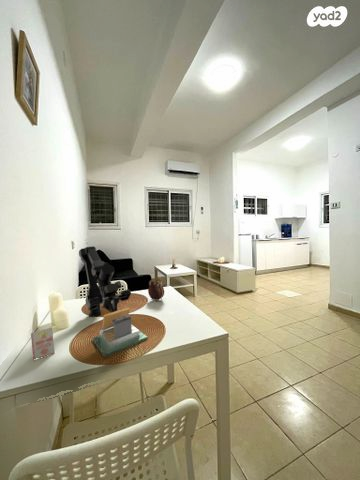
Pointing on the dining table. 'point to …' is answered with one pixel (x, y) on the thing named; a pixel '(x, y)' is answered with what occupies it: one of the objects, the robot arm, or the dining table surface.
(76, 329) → the dining table surface
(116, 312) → the tan square pad
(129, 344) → the grey and green stand
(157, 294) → the brown rounded piece
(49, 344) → the pink printed box
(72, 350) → the dining table surface
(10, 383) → the dining table surface
